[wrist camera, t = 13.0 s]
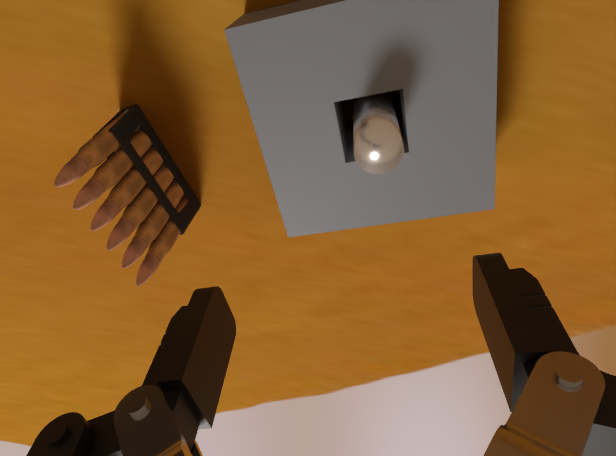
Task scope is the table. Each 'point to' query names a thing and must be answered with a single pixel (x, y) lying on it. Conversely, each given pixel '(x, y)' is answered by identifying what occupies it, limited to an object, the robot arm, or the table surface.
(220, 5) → the table surface
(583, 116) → the table surface
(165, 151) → the ammunition clip
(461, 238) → the table surface
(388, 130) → the metal pin
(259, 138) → the socket block
